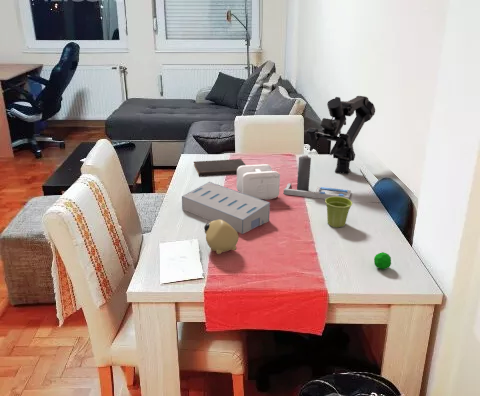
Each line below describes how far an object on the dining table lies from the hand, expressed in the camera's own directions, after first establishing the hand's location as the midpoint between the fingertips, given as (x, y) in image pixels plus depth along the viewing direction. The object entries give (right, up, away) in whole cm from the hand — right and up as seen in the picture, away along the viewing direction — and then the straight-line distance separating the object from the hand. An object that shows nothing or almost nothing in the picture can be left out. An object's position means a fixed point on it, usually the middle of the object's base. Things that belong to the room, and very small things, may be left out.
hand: (320, 152), depth 206 cm
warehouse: (-39, -26, -23) cm, 52 cm away
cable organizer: (-26, -18, -5) cm, 32 cm away
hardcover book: (-42, -6, +25) cm, 49 cm away
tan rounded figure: (-39, -35, -48) cm, 71 cm away
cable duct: (-1, -17, -1) cm, 17 cm away
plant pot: (+1, -28, -29) cm, 40 cm away
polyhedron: (+9, -40, -57) cm, 70 cm away
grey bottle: (-7, -16, +1) cm, 17 cm away
